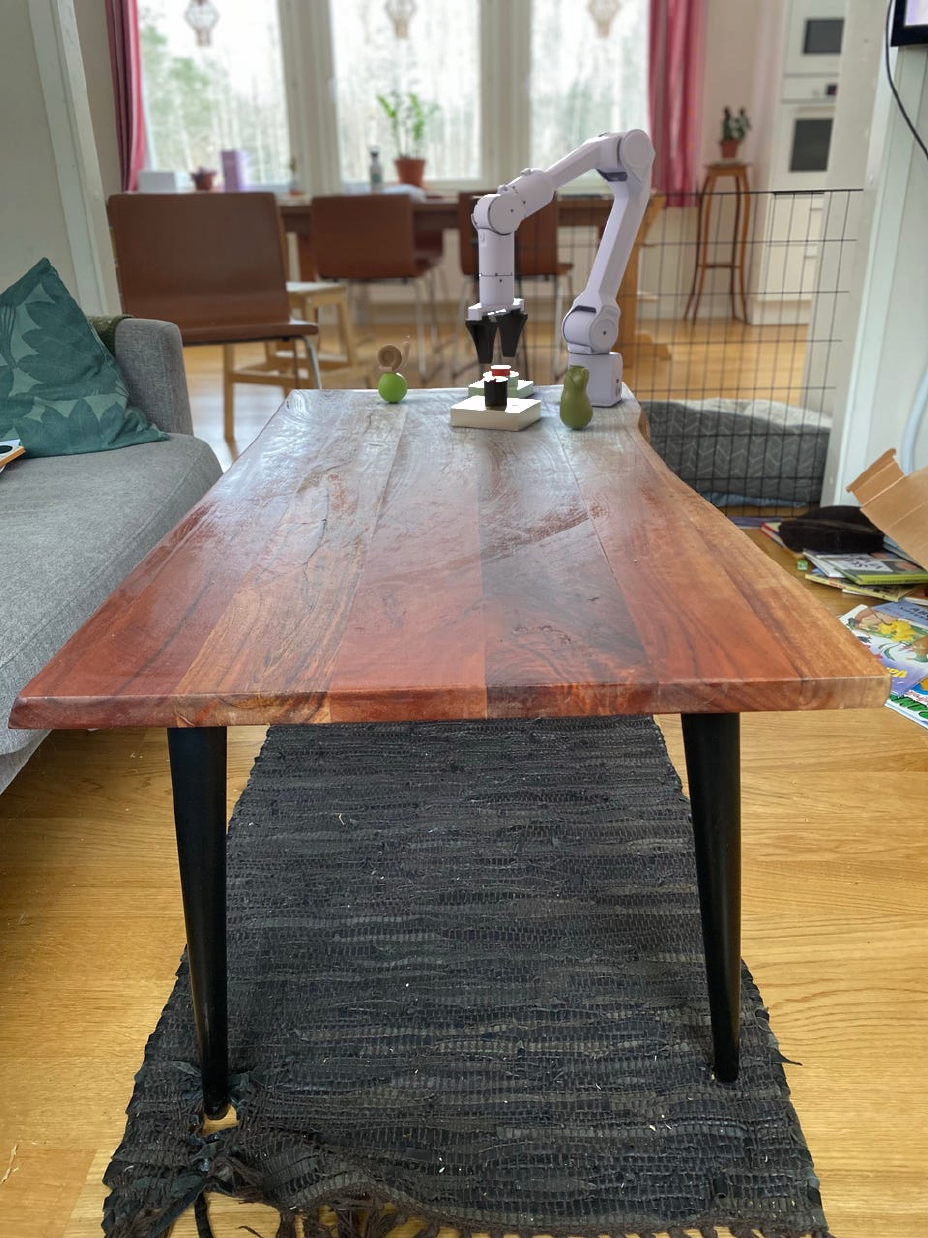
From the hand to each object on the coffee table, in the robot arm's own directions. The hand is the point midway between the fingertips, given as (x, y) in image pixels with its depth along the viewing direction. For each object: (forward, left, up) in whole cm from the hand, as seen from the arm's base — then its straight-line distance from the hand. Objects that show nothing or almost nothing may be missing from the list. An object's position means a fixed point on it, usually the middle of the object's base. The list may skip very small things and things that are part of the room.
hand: (497, 360), depth 158 cm
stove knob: (-2, +6, -6) cm, 9 cm away
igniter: (+6, -15, -9) cm, 18 cm away
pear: (-16, +6, -9) cm, 20 cm away
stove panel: (-2, +6, -9) cm, 11 cm away
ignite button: (+6, -15, -5) cm, 16 cm away
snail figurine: (+22, -3, -9) cm, 24 cm away
